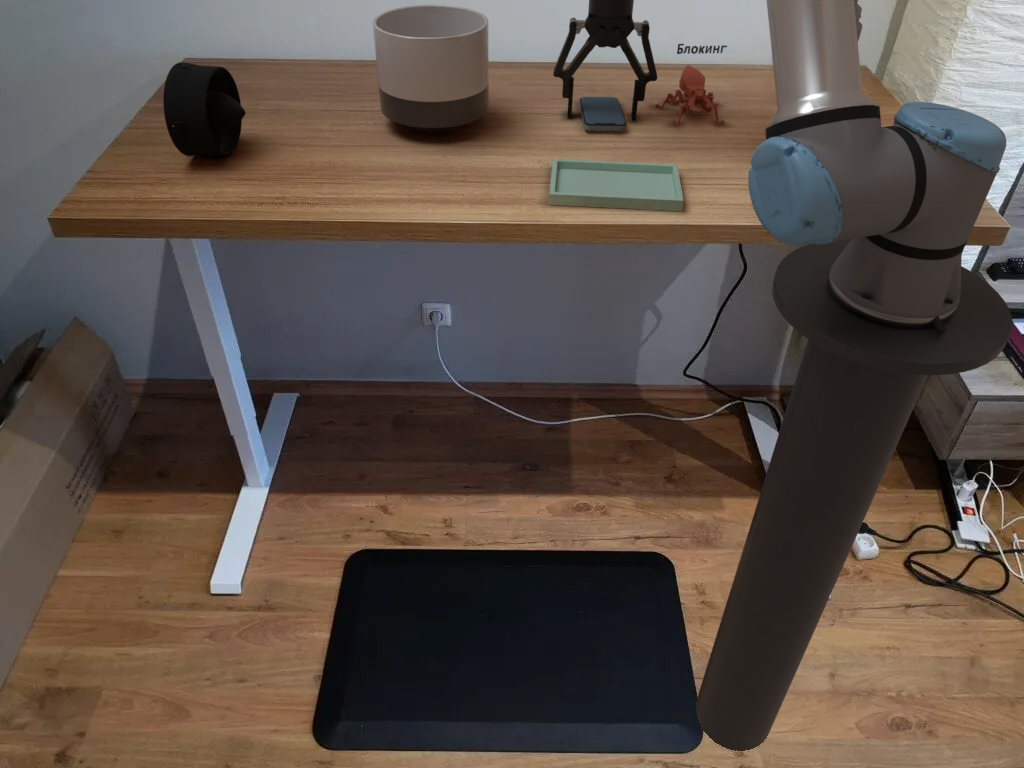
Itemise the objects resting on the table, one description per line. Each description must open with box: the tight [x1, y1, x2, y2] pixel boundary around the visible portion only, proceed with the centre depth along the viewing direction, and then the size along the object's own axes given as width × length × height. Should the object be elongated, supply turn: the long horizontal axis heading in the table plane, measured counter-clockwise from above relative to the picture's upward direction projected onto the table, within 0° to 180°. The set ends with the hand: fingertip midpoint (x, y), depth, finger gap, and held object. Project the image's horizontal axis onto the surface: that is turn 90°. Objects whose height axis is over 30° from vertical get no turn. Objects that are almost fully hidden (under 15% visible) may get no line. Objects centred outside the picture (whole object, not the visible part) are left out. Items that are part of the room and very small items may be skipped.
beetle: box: [654, 43, 728, 127], centre depth 146 cm, size 15×12×13 cm
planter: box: [372, 4, 490, 133], centre depth 140 cm, size 19×19×18 cm
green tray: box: [548, 158, 684, 212], centre depth 126 cm, size 13×20×2 cm, turn 85°
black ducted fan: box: [162, 61, 247, 160], centre depth 130 cm, size 14×14×10 cm
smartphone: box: [578, 96, 627, 132], centre depth 148 cm, size 8×2×15 cm
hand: (601, 116), depth 149 cm, fingers open, 11 cm apart
